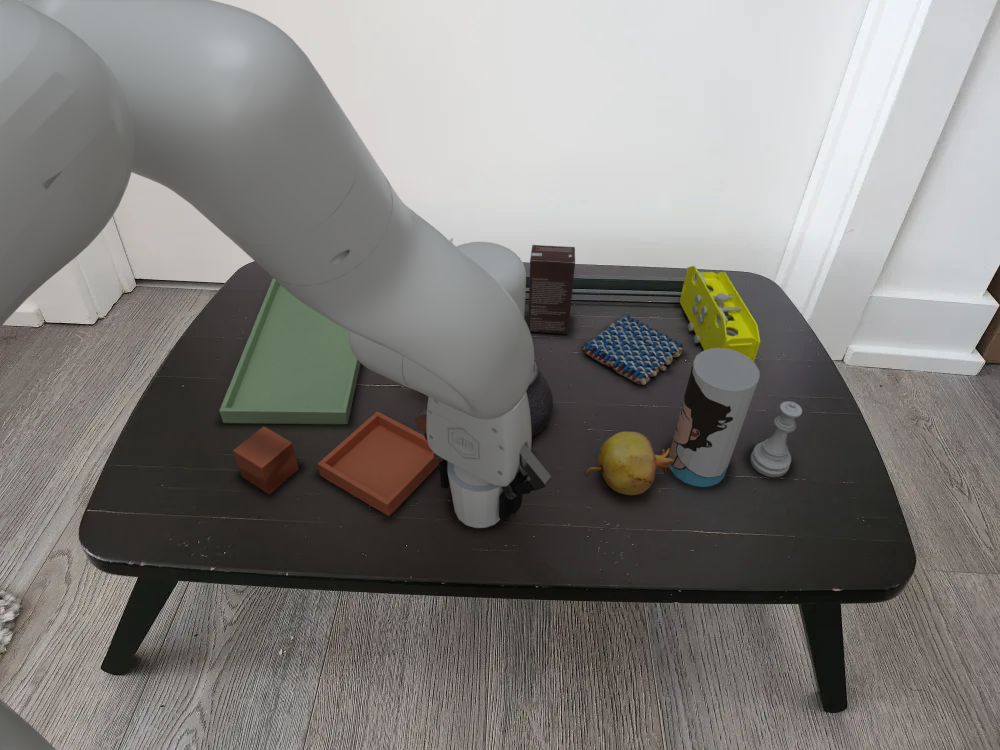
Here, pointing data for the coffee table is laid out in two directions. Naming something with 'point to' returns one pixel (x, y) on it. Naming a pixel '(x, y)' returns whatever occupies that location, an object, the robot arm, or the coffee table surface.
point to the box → (550, 288)
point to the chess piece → (776, 444)
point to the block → (266, 460)
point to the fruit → (629, 463)
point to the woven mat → (633, 349)
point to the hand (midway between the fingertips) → (480, 494)
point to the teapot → (539, 401)
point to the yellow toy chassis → (718, 313)
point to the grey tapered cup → (473, 498)
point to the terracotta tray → (380, 463)
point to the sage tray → (292, 367)
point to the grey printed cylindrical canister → (712, 415)
